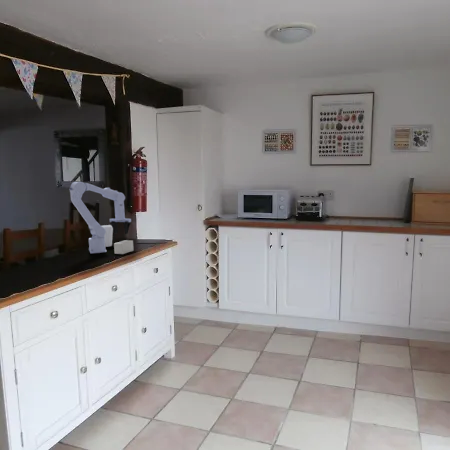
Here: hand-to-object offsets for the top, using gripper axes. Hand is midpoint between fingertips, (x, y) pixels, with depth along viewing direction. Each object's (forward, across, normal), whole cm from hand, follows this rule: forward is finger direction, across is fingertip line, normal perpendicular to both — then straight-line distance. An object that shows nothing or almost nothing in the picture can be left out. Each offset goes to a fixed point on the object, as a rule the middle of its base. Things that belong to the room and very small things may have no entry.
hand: (121, 233), depth 259 cm
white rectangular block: (+9, -8, +10) cm, 16 cm away
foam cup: (+10, +17, -6) cm, 20 cm away
